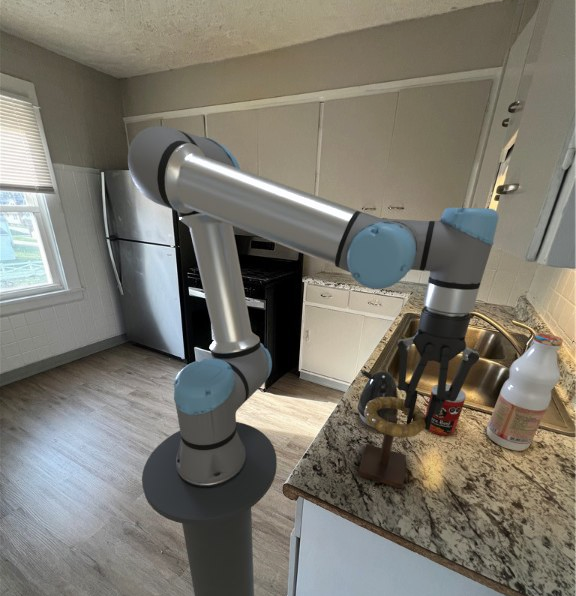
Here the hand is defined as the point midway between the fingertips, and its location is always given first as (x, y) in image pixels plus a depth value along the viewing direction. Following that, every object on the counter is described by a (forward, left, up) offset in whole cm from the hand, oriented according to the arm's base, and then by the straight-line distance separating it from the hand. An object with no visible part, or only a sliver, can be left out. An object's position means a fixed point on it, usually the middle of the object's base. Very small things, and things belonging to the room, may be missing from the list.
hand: (417, 423), depth 62 cm
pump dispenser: (-9, +16, -14) cm, 23 cm away
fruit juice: (+23, +23, -14) cm, 36 cm away
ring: (-5, 0, 0) cm, 5 cm away
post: (-5, 0, -14) cm, 15 cm away
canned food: (+7, +21, -14) cm, 26 cm away
